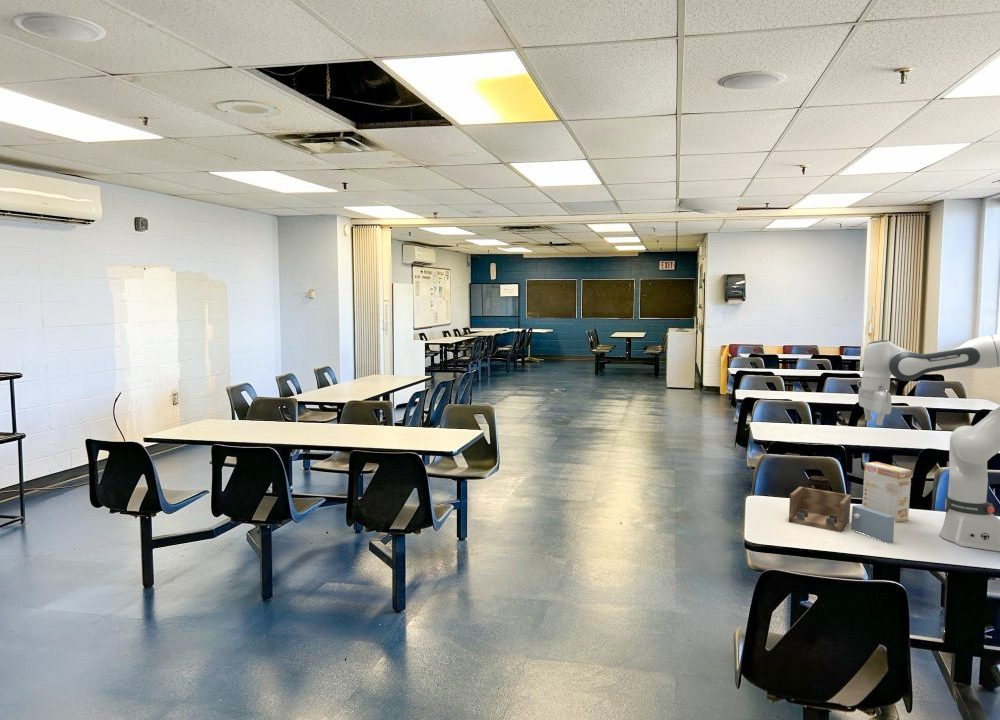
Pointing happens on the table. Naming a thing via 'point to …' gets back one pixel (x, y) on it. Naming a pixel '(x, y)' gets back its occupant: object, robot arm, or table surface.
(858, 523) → the door
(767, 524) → the table surface
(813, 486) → the coffee cup
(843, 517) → the cabinet
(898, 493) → the coffeecake box
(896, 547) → the table surface
